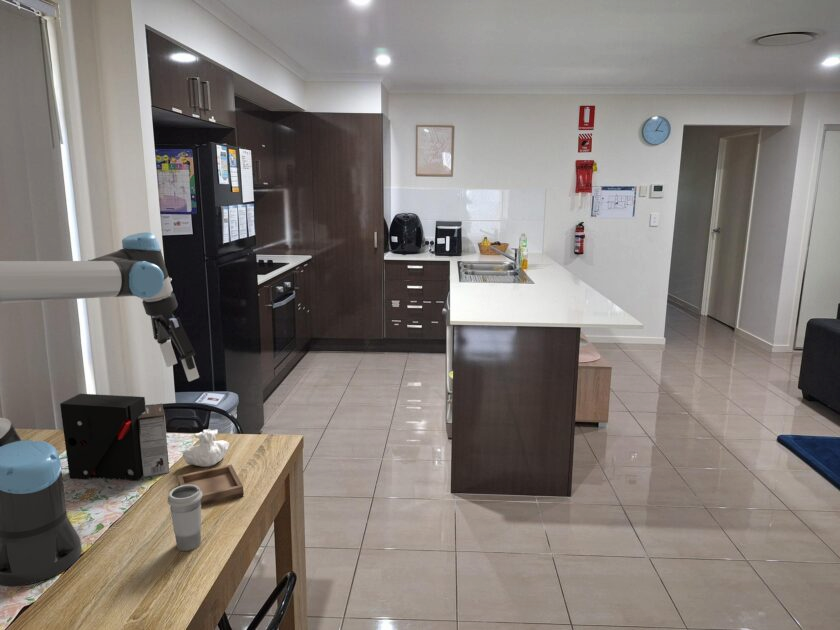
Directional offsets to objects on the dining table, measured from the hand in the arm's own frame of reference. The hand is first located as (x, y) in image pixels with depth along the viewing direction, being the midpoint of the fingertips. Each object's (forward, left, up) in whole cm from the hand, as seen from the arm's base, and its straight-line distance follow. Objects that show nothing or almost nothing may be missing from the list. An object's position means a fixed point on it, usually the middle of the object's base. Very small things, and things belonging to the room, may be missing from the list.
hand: (182, 371), depth 154 cm
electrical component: (-18, +4, -26) cm, 32 cm away
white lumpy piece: (+4, -3, -26) cm, 26 cm away
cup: (-6, -39, -26) cm, 47 cm away
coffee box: (-8, +2, -26) cm, 27 cm away
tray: (+2, -18, -25) cm, 31 cm away
